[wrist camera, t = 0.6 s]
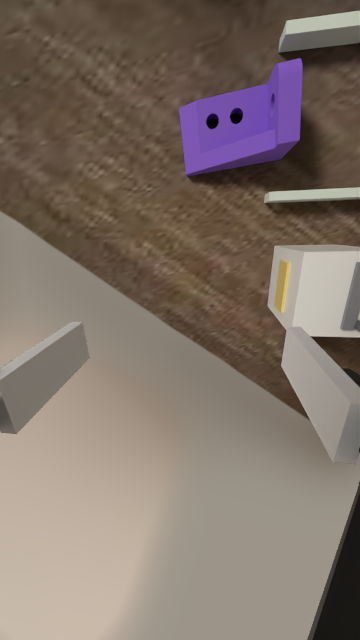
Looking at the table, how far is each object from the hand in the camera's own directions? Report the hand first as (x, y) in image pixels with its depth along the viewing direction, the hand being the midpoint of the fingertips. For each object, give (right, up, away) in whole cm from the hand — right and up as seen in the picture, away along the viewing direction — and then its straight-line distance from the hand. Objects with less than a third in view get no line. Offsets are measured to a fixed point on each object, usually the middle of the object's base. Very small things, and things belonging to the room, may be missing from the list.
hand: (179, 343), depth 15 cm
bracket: (+6, +25, +14) cm, 29 cm away
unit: (+18, +8, +19) cm, 27 cm away
